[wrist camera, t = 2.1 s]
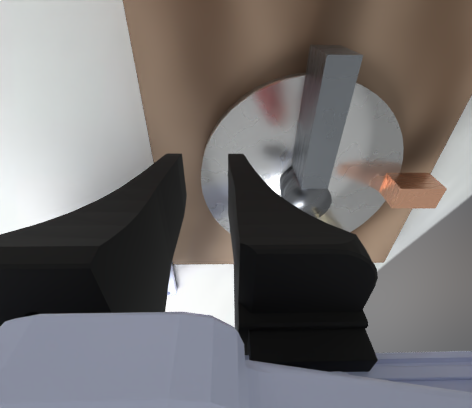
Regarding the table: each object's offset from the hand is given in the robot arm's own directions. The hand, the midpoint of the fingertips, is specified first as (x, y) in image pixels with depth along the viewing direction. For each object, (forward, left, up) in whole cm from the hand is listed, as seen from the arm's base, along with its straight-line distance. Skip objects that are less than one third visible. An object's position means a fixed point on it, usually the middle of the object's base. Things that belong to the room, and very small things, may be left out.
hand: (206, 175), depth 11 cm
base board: (+6, -5, -9) cm, 12 cm away
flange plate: (+7, -4, -7) cm, 11 cm away
